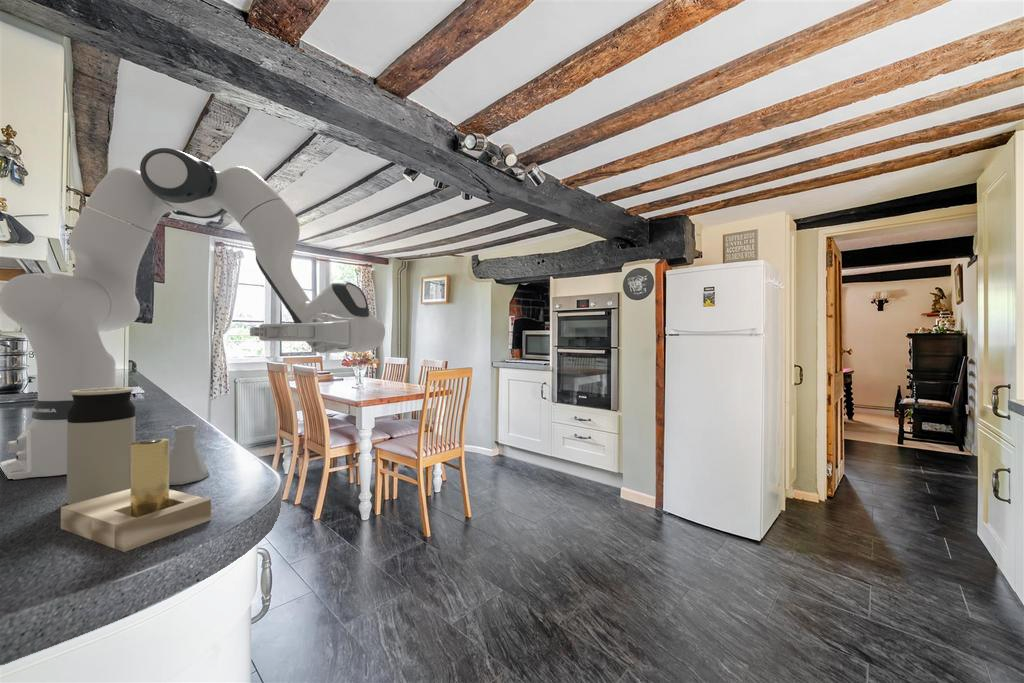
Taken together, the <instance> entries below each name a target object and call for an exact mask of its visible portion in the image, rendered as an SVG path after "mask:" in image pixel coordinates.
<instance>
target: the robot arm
mask: <svg viewBox="0 0 1024 683" xmlns="http://www.w3.org/2000/svg"><path fill="white" fill-rule="evenodd" d="M169 212H172V213H173V214H175V215H177V216H184V217H185V216H186V217H190V218H198V219H205V220H206V219H208V220H209V219H215V218H218V217H220V216H221V215H223V214H224V213H225V212H227V213H228V214H229V215H230V216H231V217H232V218H233V219H234V220H235V221H236V223H238V225H239V226H240V227H241V228H242V229H243V230H244V232H245V233H246V235H247V236H248V238H249V240H250V242H251V244H252V247H253V249H254V252H255V261H256V264H257V265H258V267H259V270H260V271H261V273H262V275H263V276H264V278H265V279H266V281H267V282H268V284H269V285H270V286H271V288H272V289H273V291H274V292H275V294H276V296H277V297H278V298H279V300H280V301H281V302H282V304H283V305H284V307H285V308H286V310H287V312H288V313H289V315H290V316H291V318H292V321H293V323H290V322H289V323H287V322H286V323H284V322H283V323H261V324H260V325H259V327H255V326H252V327H250V328H249V336H251V337H258V338H259V341H262V342H306V344H308V346H310V348H311V349H312V350H313V351H314V352H316V353H319V354H329V353H330V354H331V353H334V354H336V353H337V354H338V353H343V352H346V353H347V352H348V353H361V352H370V351H372V350H375V349H377V348H378V347H379V346H380V345H382V343H383V342H384V339H385V336H386V327H385V325H384V324H383V322H382V321H381V320H380V319H378V317H375V315H373V313H372V312H371V310H370V309H369V305H368V300H367V297H366V295H365V294H364V292H363V290H362V289H361V288H360V287H359V286H358V285H357V284H354V283H352V282H349V281H347V280H342V279H337V280H333V281H332V282H331V283H330V284H329V285H327V286H326V287H325V288H324V289H323V290H321V291H320V293H319V294H318V295H316V296H315V297H314V298H313V299H312V300H310V298H309V297H308V295H307V294H306V292H305V290H304V289H303V288H302V286H301V285H300V283H299V282H298V280H297V278H296V277H295V275H294V274H293V271H292V259H293V254H294V252H295V249H296V246H297V244H298V242H299V238H300V231H301V229H300V222H299V220H298V217H297V216H296V214H295V213H294V212H293V210H292V209H291V207H290V206H289V205H288V203H286V201H285V200H284V199H283V198H282V197H281V196H280V194H279V193H278V192H277V191H276V190H275V189H274V188H273V187H272V186H270V184H269V183H268V182H267V181H266V180H264V179H263V178H262V177H261V176H260V175H259V174H258V173H257V172H255V171H254V170H252V169H251V168H249V167H247V166H246V167H245V166H242V165H240V166H239V165H238V166H237V165H236V166H235V165H234V166H231V167H228V168H226V169H224V170H223V171H217V170H215V169H214V167H213V166H212V165H211V163H209V162H206V161H203V160H201V159H199V158H197V157H195V156H193V155H191V154H188V153H186V152H183V151H181V150H178V149H174V148H169V147H160V148H155V149H152V150H149V152H147V153H146V154H145V155H144V156H143V157H142V159H141V160H140V164H139V169H138V170H137V169H135V168H130V167H115V168H112V169H110V171H108V172H107V174H105V175H104V177H103V178H102V179H101V180H100V181H99V182H98V184H97V185H96V187H95V188H94V189H93V191H92V192H91V194H90V196H89V197H88V199H87V200H86V203H85V205H84V206H83V208H82V211H81V213H80V214H79V217H77V221H76V222H75V224H74V227H73V228H72V231H71V233H70V234H69V236H68V244H69V247H70V249H71V251H72V252H73V255H74V261H75V262H74V272H73V275H68V274H64V273H63V274H62V273H57V272H37V273H24V274H20V275H17V276H14V277H13V278H11V279H9V280H8V281H7V282H6V283H4V285H3V286H2V288H1V289H0V307H1V310H2V311H3V312H4V314H5V315H6V316H7V317H8V318H9V319H11V320H12V321H14V322H15V323H16V324H17V325H18V326H19V327H20V328H21V330H22V331H23V332H24V334H25V336H26V338H27V339H28V342H29V344H30V346H31V348H32V351H33V354H34V358H35V362H36V373H37V374H36V375H37V376H36V377H37V400H35V401H34V403H33V406H32V409H31V411H32V413H31V418H32V421H31V422H30V424H28V426H26V428H25V429H24V430H23V431H22V433H21V434H20V435H19V436H18V437H17V439H16V440H10V441H7V444H6V446H7V447H6V450H7V454H14V453H16V456H15V457H16V458H12V459H6V460H4V461H1V462H0V467H1V469H2V471H3V472H4V474H5V475H6V476H7V478H8V479H13V480H23V479H28V478H29V479H30V478H39V477H40V478H41V477H42V478H43V477H54V476H63V475H67V412H68V411H69V409H70V408H71V406H72V405H73V404H74V401H73V397H72V395H71V394H70V392H71V391H73V390H80V389H90V388H106V387H116V369H117V368H116V359H115V358H114V356H113V355H112V354H111V353H109V351H108V350H107V349H106V348H105V345H104V343H103V341H102V339H101V335H100V332H110V331H115V330H119V329H123V328H126V327H129V326H130V325H132V324H133V323H134V322H135V321H136V320H138V319H137V318H138V317H139V314H140V312H141V306H140V303H139V300H138V298H137V296H136V284H137V275H138V270H139V267H140V263H141V261H142V259H143V256H144V254H145V251H147V250H146V249H147V247H148V245H149V243H150V241H151V238H152V237H153V235H154V232H155V231H156V227H157V225H158V223H159V221H160V219H162V217H163V216H164V215H165V214H167V213H169ZM1 469H0V470H1ZM2 471H1V472H2ZM3 472H2V473H3ZM4 474H3V475H4ZM5 475H4V476H5ZM6 476H5V477H6ZM7 478H6V479H7ZM8 479H7V480H8Z"/></svg>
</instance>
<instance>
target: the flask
mask: <svg viewBox="0 0 1024 683" xmlns="http://www.w3.org/2000/svg"><path fill="white" fill-rule="evenodd" d="M196 429H197V425H193V424H192V425H191V424H190V425H188V424H187V425H180V426H176V427H173V429H172V430H173V432H175V437H174V438H175V439H174V444H173V447H172V450H171V452H170V454H169V486H177V485H178V486H179V485H180V486H181V485H182V486H183V485H185V484H190V483H193V482H198V481H201V480H204V479H206V478H207V477H209V476H210V475H211V474H210V472H209V470H208V468H207V466H206V464H205V461H204V460H203V457H202V454H201V453H200V450H199V448H198V446H197V443H196V442H197V441H196V438H195V430H196Z"/></svg>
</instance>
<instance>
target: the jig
mask: <svg viewBox="0 0 1024 683" xmlns="http://www.w3.org/2000/svg"><path fill="white" fill-rule="evenodd" d="M211 520H212V499H211V498H208V497H207V498H206V497H203V496H198V495H194V494H190V493H188V492H187V493H186V492H183V491H180V490H179V491H178V490H174V489H170V488H169V508H166V509H163V510H159V511H156V512H153V513H150V514H147V515H144V516H140V517H137V518H135V517H132V516H131V489H127V490H123V491H120V492H116V493H112V494H108V495H104V496H101V497H97V498H93V499H89V500H85V501H81V502H78V503H74V504H67V505H63V506H60V529H61V530H64V531H66V532H69V533H71V534H74V535H77V536H80V537H82V538H85V539H88V540H91V541H92V542H93V541H94V542H96V543H98V544H100V545H101V544H102V545H104V546H106V547H109V548H112V549H114V550H117V551H119V552H122V553H126V552H128V551H131V550H134V549H137V548H140V547H142V546H145V545H148V544H150V543H152V542H154V541H158V540H161V539H164V538H167V537H169V536H172V535H175V534H177V533H180V532H182V531H185V530H188V529H191V528H192V527H193V528H194V527H195V526H198V525H201V524H204V523H206V522H209V521H211Z"/></svg>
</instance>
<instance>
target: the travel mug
mask: <svg viewBox="0 0 1024 683" xmlns="http://www.w3.org/2000/svg"><path fill="white" fill-rule="evenodd" d="M133 391H134V387H129V386H118V387H117V386H115V387H106V388H90V389H80V390H73V391H71V392H70V394H71V395H72V397H73V401H74V404H73V405H72V406H71V408H70V409H69V411H68V412H67V474H66V504H67V505H70V504H74V503H78V502H81V501H85V500H89V499H93V498H97V497H101V496H104V495H108V494H112V493H116V492H120V491H123V490H127V489H131V444H132V443H134V442H136V405H135V404H134V403H133V401H132V399H131V396H132V392H133Z"/></svg>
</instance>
